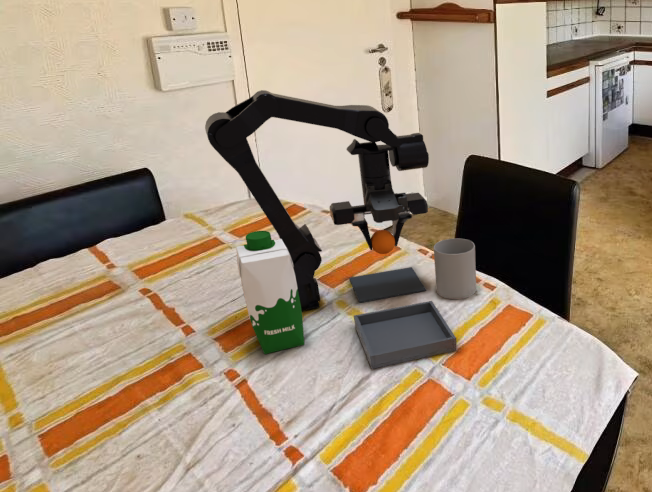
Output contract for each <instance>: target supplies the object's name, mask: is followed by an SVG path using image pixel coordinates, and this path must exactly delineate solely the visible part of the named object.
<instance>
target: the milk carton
mask: <svg viewBox="0 0 652 492" xmlns="http://www.w3.org/2000/svg"><path fill="white" fill-rule="evenodd" d="M245 241H246V244H243V245H238V246H236V247H235V249H236V262H237V270H238V277H239V278H240V283H241V284H240V285H241V287H242V292H243V295H244V296H243V297H244V300H245V305H246V309H247V314H248V317H249V321H250V324H251V327H252V330H253V331H254V334H255V336H256V339H257V341H258V343H259V345H260V347H261V350H262V352H263V354H264V355H268V354H272V353H276V352H279V351H284V350H288V349H291V348H295V347H296V348H297V347H300V346H304V345H305V335H304V318H303V311H302V310H301V304H300V299H299V293H298V288H297V282H296V277H295V273H294V269H293V267H294V266H292V265H293V262H292V259H291V256H290V254H289V252H288V249H287V248H286V246H285V244H284V243H283V241H282V239H280V238H278V239H272V235H271V232H270V231H268V230H254V231H251V232H248V233H247V234H246V235H245Z"/></svg>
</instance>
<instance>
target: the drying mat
mask: <svg viewBox="0 0 652 492" xmlns="http://www.w3.org/2000/svg"><path fill="white" fill-rule="evenodd" d="M349 282H350V284H351V286H352V288H353V291H354V293H355V295H356V297H357V300H358V302H359V304H362V303H367V302H373V301H379V300H384V299H389V298H395V297H400V296H406V295H411V294H416V293H422V292H423V293H424V292H427V288H426V287H425V285H424V284H423V282H422V281H421V279H420V277H419V276H418V275H417V273H416V272H415V270H414V269H413V266H409V267H404V268H398V269H392V270H387V271H381V272H375V273H369V274H363V275H356V276H351V277H349Z"/></svg>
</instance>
